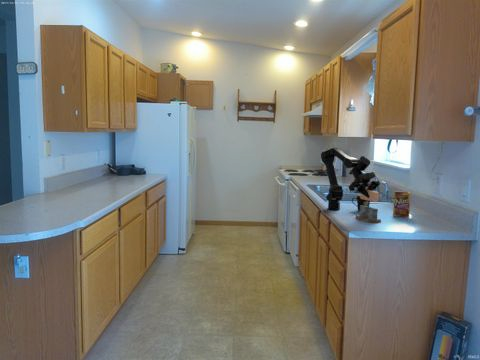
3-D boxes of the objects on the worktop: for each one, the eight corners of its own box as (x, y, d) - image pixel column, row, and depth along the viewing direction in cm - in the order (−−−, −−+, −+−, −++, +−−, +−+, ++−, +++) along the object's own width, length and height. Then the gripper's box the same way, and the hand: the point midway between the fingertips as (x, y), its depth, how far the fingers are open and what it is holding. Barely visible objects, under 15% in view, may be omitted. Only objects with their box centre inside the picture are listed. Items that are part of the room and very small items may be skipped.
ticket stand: (355, 218, 226) (356, 205, 225) (364, 217, 229) (365, 204, 228) (370, 223, 214) (371, 209, 213) (380, 222, 217) (381, 209, 216)
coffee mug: (369, 210, 251) (370, 194, 249) (370, 212, 242) (371, 197, 241) (351, 208, 254) (351, 193, 253) (351, 211, 246) (352, 195, 244)
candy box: (392, 216, 233) (394, 191, 232) (393, 214, 237) (395, 190, 235) (408, 217, 229) (410, 192, 227) (409, 216, 233) (411, 191, 231)
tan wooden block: (360, 198, 225) (360, 189, 224) (363, 198, 226) (364, 189, 225) (374, 202, 214) (375, 192, 213) (378, 201, 215) (378, 192, 214)
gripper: (353, 167, 218) (365, 189, 209) (378, 166, 225) (391, 188, 216) (343, 179, 226) (354, 201, 217) (368, 178, 233) (380, 199, 224)
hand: (370, 197), depth 218 cm, fingers closed on tan wooden block, 2 cm apart
